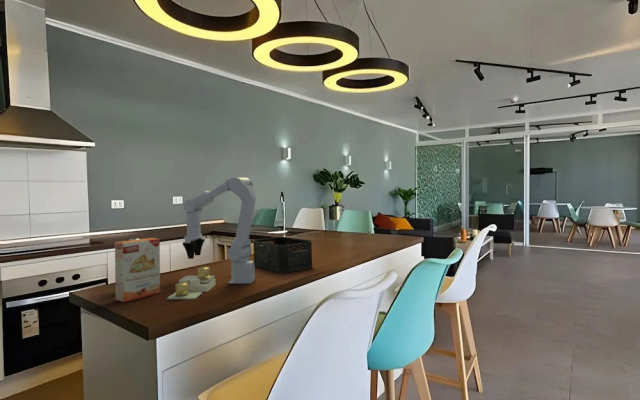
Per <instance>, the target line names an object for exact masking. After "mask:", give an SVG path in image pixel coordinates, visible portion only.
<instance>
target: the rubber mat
mask: <svg viewBox="0 0 640 400" xmlns="http://www.w3.org/2000/svg"><path fill="white" fill-rule="evenodd" d="M200 295H203V292H189V294H188V295H186V296H182V297H177V296H176V291H175V292H173V294H171V295H169V296H168V297H167V298H166V299H167V300H196V299H197V298H199V297H200Z"/></svg>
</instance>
